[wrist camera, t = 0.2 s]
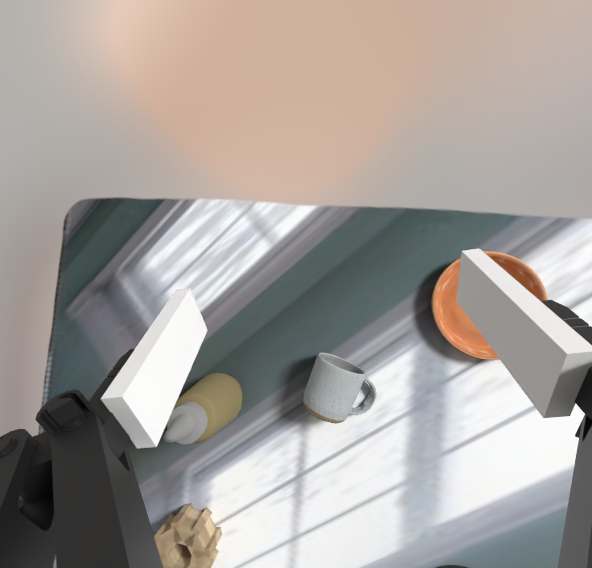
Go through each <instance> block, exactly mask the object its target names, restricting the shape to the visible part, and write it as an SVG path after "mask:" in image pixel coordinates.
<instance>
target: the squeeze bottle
mask: <svg viewBox="0 0 592 568" xmlns="http://www.w3.org/2000/svg"><path fill="white" fill-rule="evenodd" d="M241 406H242V390H241V386H240V384H239V383H238V381H237V380H236V379H234V378H233V377H231V376H229V375H226V374H221V373H213V374H209V375H206V376H205V377H204V378H202V379H201V380H200V381H199V382H198V383H196V384H195V385H194V386H193V387H192V388H190V389H189V390H188V391H187V392H186V393H184V394H183V395H182V396H181V397H180V398H179V399H177V401H176V404H175V406H174V408H173V410H172V413H171V415H170V417H169V420H168V422H167V428H168V430H167V432H166V433H165V435H164V441H165V442H167V443H171V442H174V441H176V442H178V443H180V444H185V445H186V444H190V443H199V442H203V441H205V440H207V439H208V438H209V437H211V436H212V435H214V434H215V433H216V432H218V431H219V430H220V429H222V428H223V427H224V426H226V425H227V424H228V423H230V422H231V421H232V420H233V419H235V418H236V417H237V415H238V413H239V411H240V409H241Z"/></svg>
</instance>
